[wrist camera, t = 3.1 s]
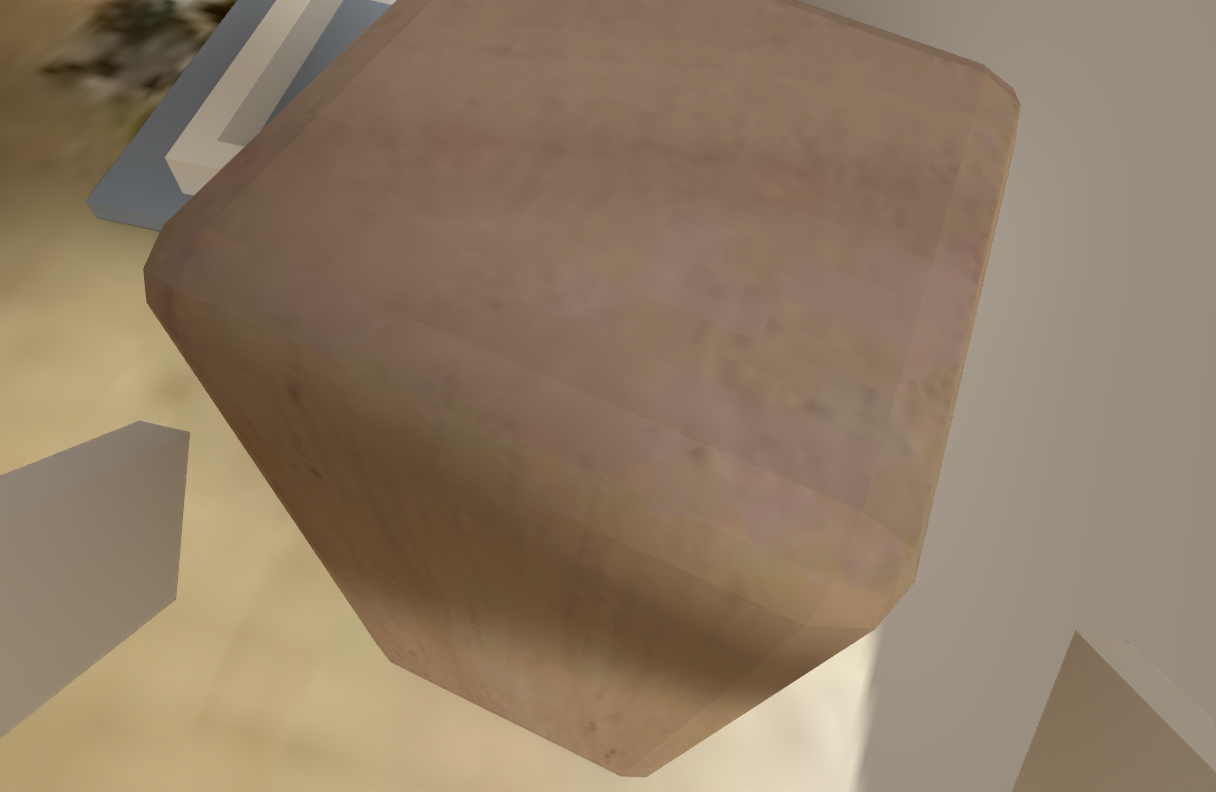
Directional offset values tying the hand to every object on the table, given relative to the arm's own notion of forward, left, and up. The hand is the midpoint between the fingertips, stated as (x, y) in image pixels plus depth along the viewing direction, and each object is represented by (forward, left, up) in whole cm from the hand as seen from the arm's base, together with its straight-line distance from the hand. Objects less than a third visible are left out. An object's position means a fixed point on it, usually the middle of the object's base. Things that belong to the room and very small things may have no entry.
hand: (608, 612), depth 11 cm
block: (-2, +5, -16) cm, 17 cm away
